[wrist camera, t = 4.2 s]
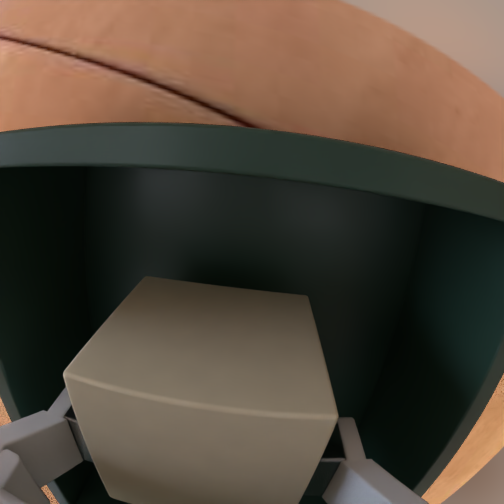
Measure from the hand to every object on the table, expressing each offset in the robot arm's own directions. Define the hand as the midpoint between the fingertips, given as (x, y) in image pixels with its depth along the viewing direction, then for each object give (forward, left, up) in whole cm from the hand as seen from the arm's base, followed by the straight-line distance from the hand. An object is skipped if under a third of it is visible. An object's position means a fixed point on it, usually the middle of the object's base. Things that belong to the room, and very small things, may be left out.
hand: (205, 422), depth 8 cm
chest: (0, +1, -6) cm, 6 cm away
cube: (-1, 0, -3) cm, 3 cm away
